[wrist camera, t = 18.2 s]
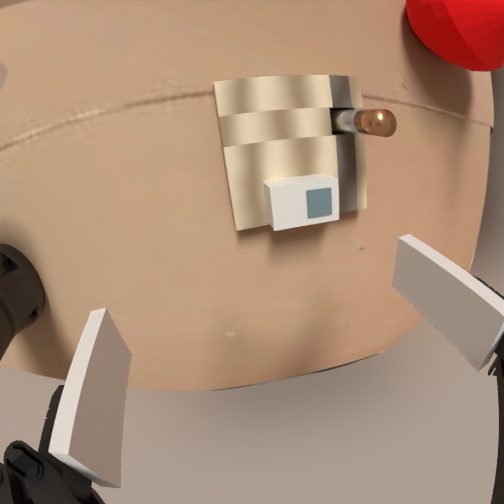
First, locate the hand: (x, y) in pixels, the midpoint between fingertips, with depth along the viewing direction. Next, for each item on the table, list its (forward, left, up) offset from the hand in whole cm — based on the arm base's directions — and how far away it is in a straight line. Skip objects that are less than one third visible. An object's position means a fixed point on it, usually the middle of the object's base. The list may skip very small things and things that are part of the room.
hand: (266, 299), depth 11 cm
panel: (+10, +3, -26) cm, 28 cm away
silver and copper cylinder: (+16, +6, -26) cm, 31 cm away
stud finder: (+9, -3, -23) cm, 24 cm away
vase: (+38, +25, -26) cm, 52 cm away
